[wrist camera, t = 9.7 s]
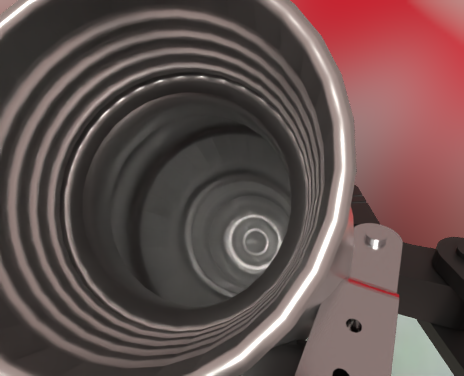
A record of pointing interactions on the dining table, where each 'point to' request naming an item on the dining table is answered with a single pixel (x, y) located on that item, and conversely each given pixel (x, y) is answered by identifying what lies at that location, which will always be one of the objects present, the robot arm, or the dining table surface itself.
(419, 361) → the dining table surface
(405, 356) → the dining table surface
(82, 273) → the grey ridged cylindrical piece
